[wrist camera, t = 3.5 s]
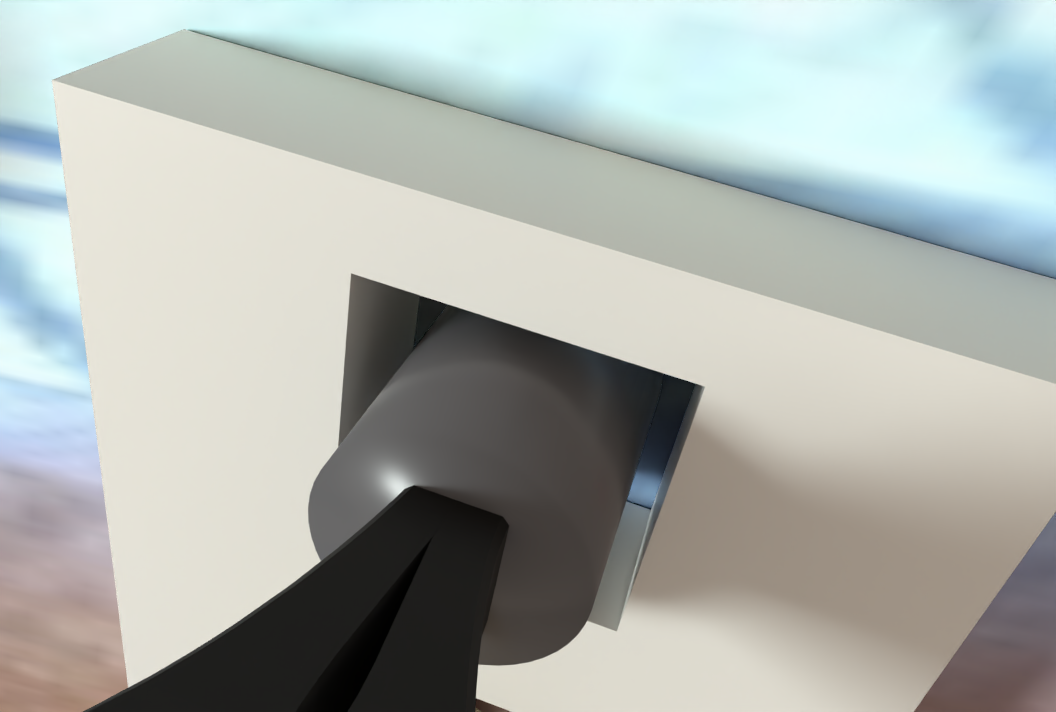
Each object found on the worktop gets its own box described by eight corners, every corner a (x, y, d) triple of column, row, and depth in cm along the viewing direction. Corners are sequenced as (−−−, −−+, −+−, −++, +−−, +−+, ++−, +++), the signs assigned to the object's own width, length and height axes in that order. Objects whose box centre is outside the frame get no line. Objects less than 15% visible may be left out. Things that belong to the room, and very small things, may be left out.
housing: (649, 990, 27) (628, 1113, 24) (215, 808, 29) (155, 904, 26) (1078, 286, 13) (1130, 406, 10) (183, 29, 15) (51, 80, 12)
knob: (632, 480, 17) (561, 702, 13) (430, 412, 18) (303, 604, 14) (691, 298, 15) (628, 499, 11) (457, 227, 15) (314, 391, 11)
